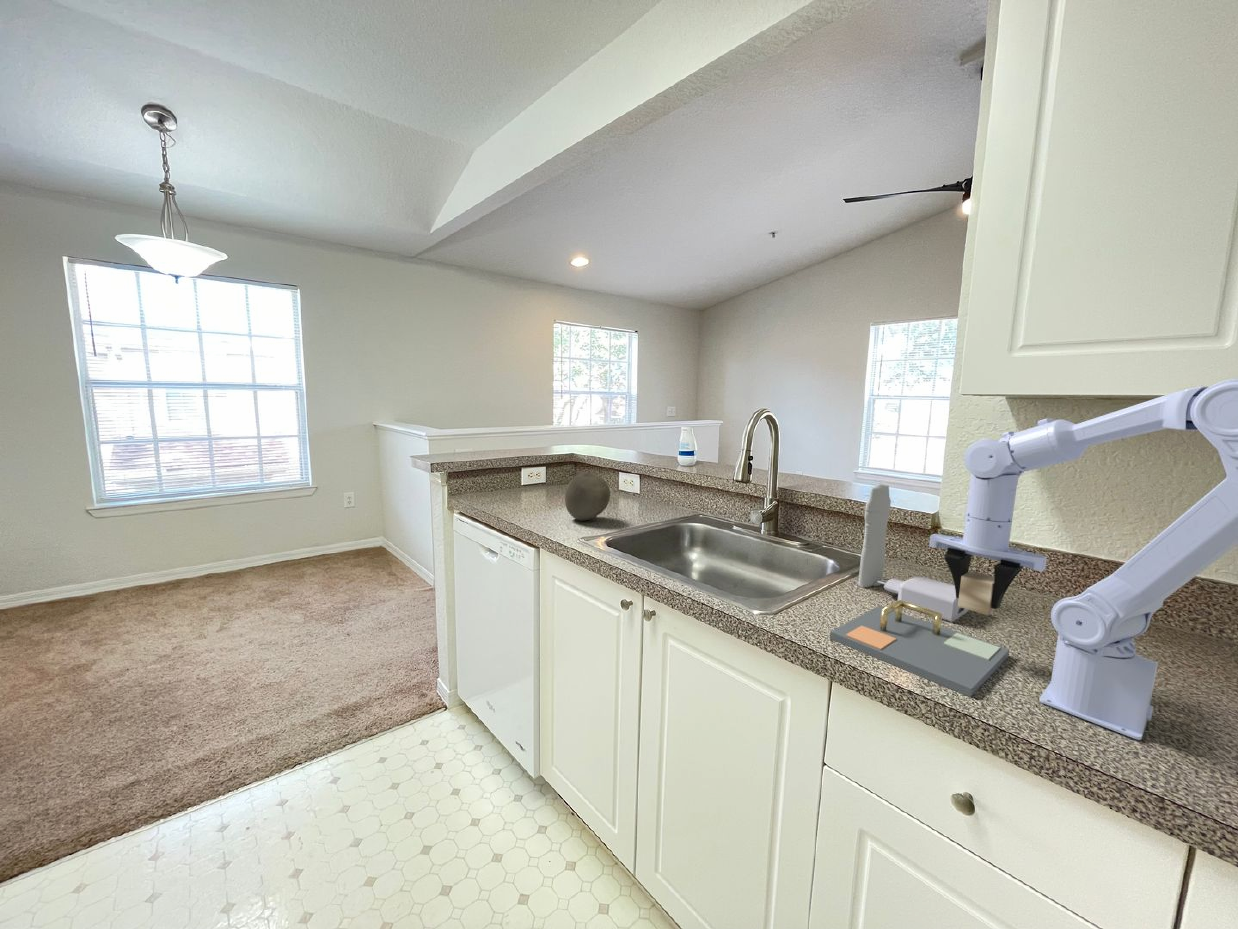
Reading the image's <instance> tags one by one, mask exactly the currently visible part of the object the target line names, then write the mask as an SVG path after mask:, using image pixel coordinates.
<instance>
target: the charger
mask: <svg viewBox="0 0 1238 929" xmlns="http://www.w3.org/2000/svg"><path fill="white" fill-rule="evenodd" d="M878 583H881V585H884V586H883V589H884V590H885V591H887V592H890V593H893V594H896V595H897V601H898V600H901V601H905V602H908V603H911V604H914V605H917V606H920V607H923V608H927V609H930V610H933V611H936V612H939V613H941V614H942V620H944V621H947V622H950V623H953V622H954V621H956V620H957V619H959V618H961V617H962V616H963V615H966V614H967V613H968V612H969V610H968V609H965V608H961V607H958V600H959V598H956V591H955V585H954V584H949V583H947V582H943V581H940V580H935V579H932V578H928V577H925V576H921V575H920V576H914V577H911V578H909V579H907V580H901V579H898V578H895V577H892V578H891V579H889V580H887V579H884V578H883V579H881V581H878Z"/></svg>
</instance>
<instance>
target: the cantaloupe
mask: <svg viewBox="0 0 1238 929" xmlns="http://www.w3.org/2000/svg"><path fill="white" fill-rule="evenodd" d="M610 499H611V491H610V488H609V485H608V482H606V481H605V479H604V478H602V477H601V476H600V475H598V474H595V473H592V472H584V473H579V474H577V475H575V476H574V477H573V478H572V479H570V481H569V482H568V484H567V486H566V488H565V491H564V503H565V507H566V511H567V512H568V513H569V515H570V516H571V517H572V518H573V519H576V520H578V521H584V522H585V521H589V520H592V519H595V518H597V517H598V516H599V515H601V514H602V513H603V512H604V511H605V510H606V508H607V506H608V505H609V503H610Z"/></svg>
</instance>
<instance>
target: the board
mask: <svg viewBox="0 0 1238 929" xmlns="http://www.w3.org/2000/svg"><path fill="white" fill-rule="evenodd" d="M884 608H886V607H884V606H882V605H877V606H876V607H874V608H873V609H870V610H868V611H866V612H865V613H862V614H861V615H859V616H857V617H856V618H853V619H852V620H850V621H848V622H846V623H844V624H842V625H841V626H839V627H837V628H835V629H833V630H831V631H830V632H829V640H832V641H835V642H837V643H840V644H842V645H844V646H847V647H849V648H851V649H853V650H857V651H859V652H862V653H864V654H866V655H868V656H870V657H873V658H874V659H878V660H881V661H883V662H886V663H887V664H890V665H891V666H894V667H897V668H899V669H902V670H903V671H904V670H905V671H907V672H909V673H911V674H914V675H917V676H919V677H920V678H923V679H926V680H928V681H931V682H934V683H935V684H938V685H940V686H943V687H945V688H948V689H950V690H952V691H955V692H957V693H960V694H962V695H964V696H967V697H969V698H971V697H972V696H973V695H974V694H975V693H976V692H977V691H978V690H979V689H980V688H981V687H982V685H983V684H984V683H985V682H986V681H987V680H988V679H990V677H991V676H992V675H993V674H994V672H996V671H997V669H998V668H1000V666H1002V664H1003V663H1005V661H1006V660H1007V659H1008V658H1009V657H1010V648H1008V647H1007V648H1006V647H1004V646H1002V645H998V644H996V643H995V644H994V643H993V642H990V641H986V640H984V639H980V638H977V637H975V636H971V635H968V634H965V633H963V632H960V631H957V630H953V629H950V628H948V627H944V626H942V625H941V629H940V635H939V636H937V635H934V634H933V627H934V622H933V623H932V622H930V621H926V620H923V619H922V618H921V619H920V618H917V617H915V616H911V615H908V614H906V613H903V612H902V621H901V622H897V621H895V615H896V610H894V611H892V612H890V613H888V620H887V629H886V631H885V632H884V631H881V630H880V621H881V612H882V609H884Z"/></svg>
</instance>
